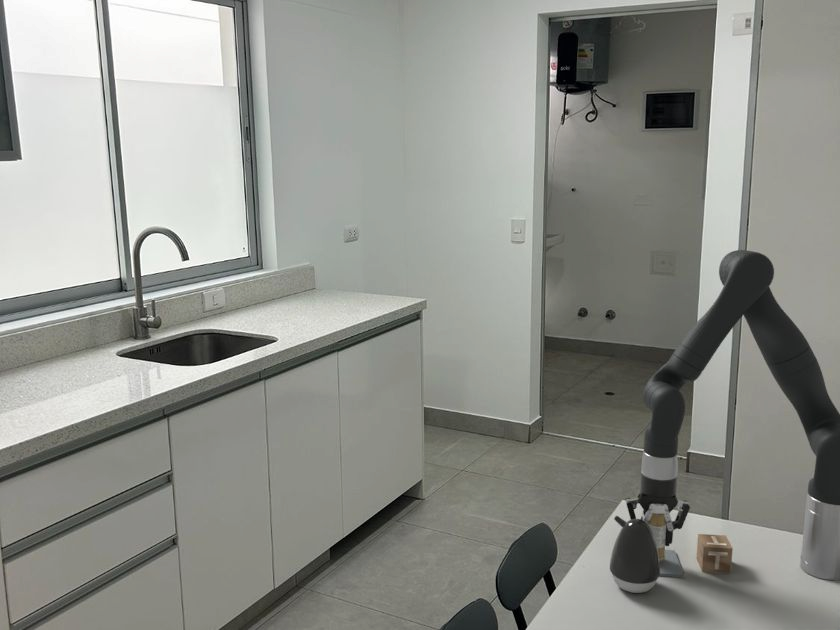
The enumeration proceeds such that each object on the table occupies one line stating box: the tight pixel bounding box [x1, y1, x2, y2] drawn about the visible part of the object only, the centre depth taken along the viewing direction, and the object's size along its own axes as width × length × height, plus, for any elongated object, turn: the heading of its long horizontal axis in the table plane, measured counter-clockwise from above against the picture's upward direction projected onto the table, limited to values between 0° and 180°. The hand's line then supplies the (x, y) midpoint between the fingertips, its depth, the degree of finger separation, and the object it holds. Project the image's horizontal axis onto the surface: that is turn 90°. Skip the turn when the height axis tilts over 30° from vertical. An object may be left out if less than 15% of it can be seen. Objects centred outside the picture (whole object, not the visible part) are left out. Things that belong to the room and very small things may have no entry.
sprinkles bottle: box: [648, 504, 667, 561], centre depth 181 cm, size 5×5×13 cm
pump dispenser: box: [609, 515, 660, 594], centre depth 172 cm, size 10×10×15 cm
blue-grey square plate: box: [659, 549, 684, 578], centre depth 182 cm, size 11×11×1 cm
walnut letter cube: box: [695, 533, 734, 574], centre depth 181 cm, size 6×6×6 cm
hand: (655, 543), depth 181 cm, fingers closed on sprinkles bottle, 4 cm apart
